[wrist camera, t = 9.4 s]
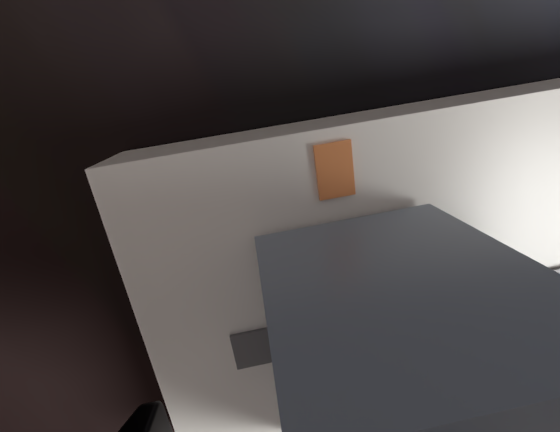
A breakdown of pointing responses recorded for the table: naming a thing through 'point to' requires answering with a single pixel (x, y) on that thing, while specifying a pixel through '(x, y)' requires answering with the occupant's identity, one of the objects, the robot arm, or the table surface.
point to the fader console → (306, 222)
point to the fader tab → (409, 327)
